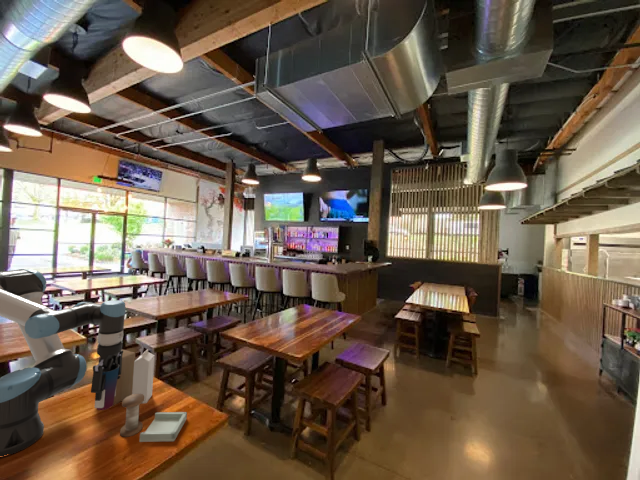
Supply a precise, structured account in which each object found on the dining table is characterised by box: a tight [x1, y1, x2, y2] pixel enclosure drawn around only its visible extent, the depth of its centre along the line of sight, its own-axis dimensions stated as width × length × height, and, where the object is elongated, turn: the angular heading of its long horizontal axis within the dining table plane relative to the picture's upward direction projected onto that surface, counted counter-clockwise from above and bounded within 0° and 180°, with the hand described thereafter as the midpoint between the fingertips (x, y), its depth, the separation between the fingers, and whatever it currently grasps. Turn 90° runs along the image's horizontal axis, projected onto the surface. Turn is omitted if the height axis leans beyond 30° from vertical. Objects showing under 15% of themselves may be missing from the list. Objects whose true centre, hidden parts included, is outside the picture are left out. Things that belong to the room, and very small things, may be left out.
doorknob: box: [119, 394, 144, 438], centre depth 102 cm, size 7×7×12 cm
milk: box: [132, 348, 155, 404], centre depth 120 cm, size 6×6×22 cm
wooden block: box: [97, 348, 136, 406], centre depth 119 cm, size 10×10×20 cm
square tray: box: [139, 411, 188, 443], centre depth 103 cm, size 12×12×3 cm
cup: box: [96, 364, 119, 411], centre depth 101 cm, size 7×7×15 cm
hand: (105, 401), depth 101 cm, fingers closed on cup, 6 cm apart
